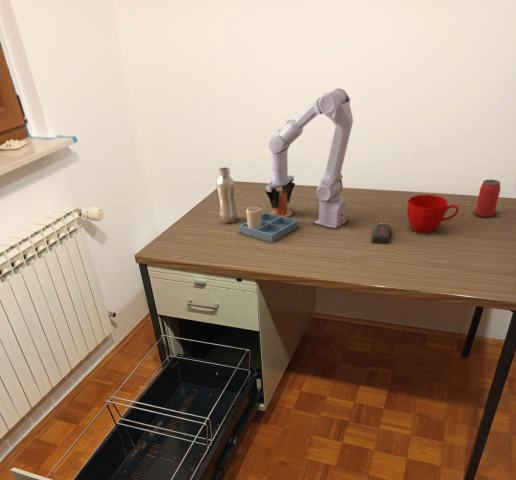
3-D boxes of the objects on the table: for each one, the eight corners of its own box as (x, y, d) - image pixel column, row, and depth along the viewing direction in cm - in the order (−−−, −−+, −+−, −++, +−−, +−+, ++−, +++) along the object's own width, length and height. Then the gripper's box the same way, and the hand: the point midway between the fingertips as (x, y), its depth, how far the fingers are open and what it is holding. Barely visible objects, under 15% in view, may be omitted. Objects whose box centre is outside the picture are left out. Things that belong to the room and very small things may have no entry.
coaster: (297, 212, 192) (297, 211, 192) (283, 220, 186) (283, 219, 186) (278, 208, 197) (278, 207, 196) (264, 215, 191) (264, 214, 191)
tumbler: (290, 212, 191) (289, 191, 187) (281, 216, 188) (281, 195, 184) (279, 209, 194) (279, 189, 189) (271, 213, 191) (270, 193, 186)
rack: (298, 228, 180) (298, 220, 178) (272, 243, 171) (272, 235, 169) (265, 219, 188) (265, 212, 186) (239, 233, 179) (238, 225, 177)
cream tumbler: (264, 229, 179) (263, 208, 174) (255, 234, 176) (254, 213, 171) (254, 226, 182) (252, 205, 177) (244, 231, 179) (243, 210, 174)
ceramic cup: (456, 237, 167) (462, 209, 161) (405, 235, 170) (408, 207, 164) (452, 222, 177) (457, 195, 171) (403, 221, 180) (407, 194, 174)
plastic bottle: (235, 225, 185) (231, 171, 173) (218, 225, 186) (212, 171, 174) (239, 219, 190) (235, 166, 178) (222, 218, 191) (217, 166, 179)
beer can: (491, 211, 183) (498, 178, 176) (496, 217, 178) (504, 184, 171) (472, 211, 184) (479, 179, 177) (477, 218, 179) (484, 185, 172)
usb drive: (372, 242, 167) (373, 234, 165) (375, 228, 176) (376, 221, 174) (388, 243, 165) (389, 235, 164) (390, 229, 175) (391, 222, 173)
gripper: (283, 162, 188) (283, 197, 196) (259, 172, 179) (260, 208, 187) (298, 165, 184) (298, 200, 192) (274, 175, 175) (275, 212, 183)
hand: (280, 204), depth 189 cm, fingers open, 7 cm apart
